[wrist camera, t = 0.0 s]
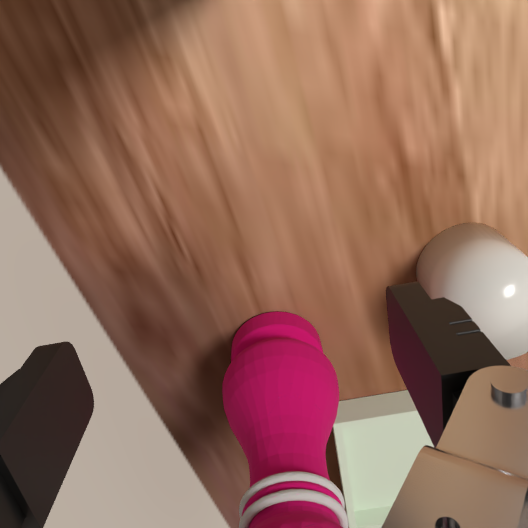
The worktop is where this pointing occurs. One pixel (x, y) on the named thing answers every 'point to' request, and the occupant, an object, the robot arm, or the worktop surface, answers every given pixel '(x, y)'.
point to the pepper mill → (284, 423)
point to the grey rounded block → (481, 281)
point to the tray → (376, 453)
